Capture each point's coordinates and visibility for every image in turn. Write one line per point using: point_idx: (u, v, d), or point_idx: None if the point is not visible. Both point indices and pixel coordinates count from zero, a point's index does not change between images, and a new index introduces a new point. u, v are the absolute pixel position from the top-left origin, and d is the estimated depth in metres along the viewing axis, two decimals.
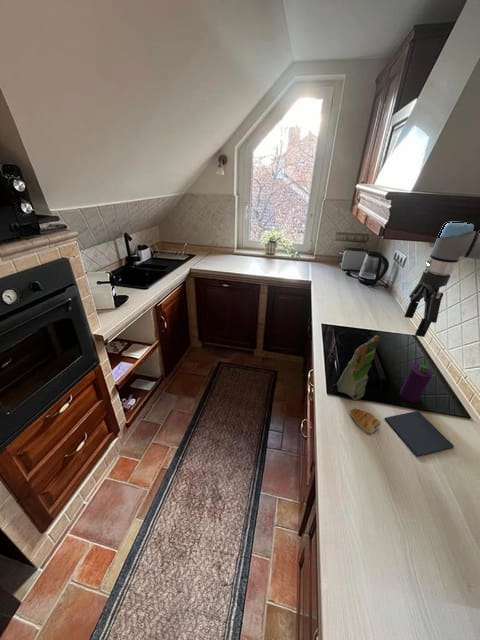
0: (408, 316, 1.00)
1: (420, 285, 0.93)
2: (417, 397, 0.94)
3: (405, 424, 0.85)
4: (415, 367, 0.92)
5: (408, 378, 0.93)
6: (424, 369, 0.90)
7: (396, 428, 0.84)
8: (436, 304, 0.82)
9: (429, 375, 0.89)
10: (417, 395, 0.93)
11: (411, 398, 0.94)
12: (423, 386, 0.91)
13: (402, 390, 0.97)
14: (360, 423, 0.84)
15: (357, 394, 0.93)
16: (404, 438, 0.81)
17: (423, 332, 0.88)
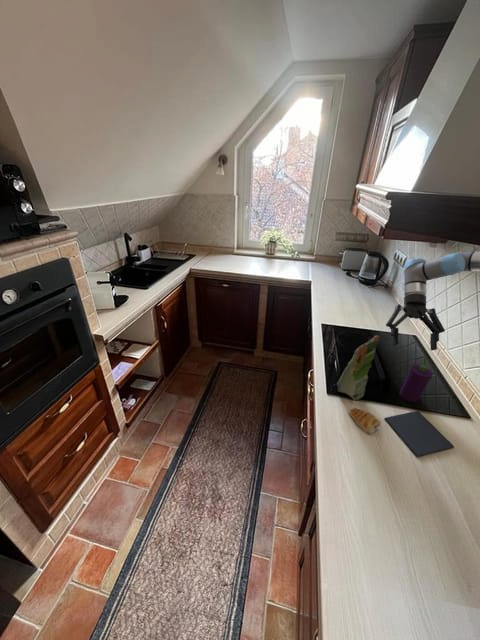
0: (432, 348, 0.98)
1: (429, 315, 1.01)
2: (417, 397, 0.94)
3: (405, 424, 0.85)
4: (415, 367, 0.92)
5: (408, 378, 0.93)
6: (424, 369, 0.90)
7: (396, 428, 0.84)
8: (394, 313, 1.02)
9: (429, 375, 0.89)
10: (417, 395, 0.93)
11: (411, 398, 0.94)
12: (423, 386, 0.91)
13: (402, 390, 0.97)
14: (360, 423, 0.84)
15: (357, 394, 0.93)
16: (404, 438, 0.81)
17: (395, 339, 0.99)
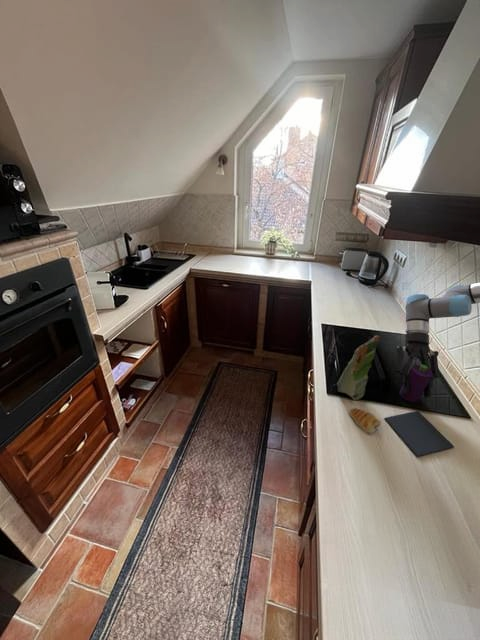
0: (426, 395, 0.92)
1: (430, 357, 0.96)
2: (417, 397, 0.94)
3: (405, 424, 0.85)
4: (415, 367, 0.92)
5: None
6: (424, 369, 0.90)
7: (396, 428, 0.84)
8: (398, 356, 0.96)
9: (429, 375, 0.89)
10: (417, 395, 0.93)
11: (411, 398, 0.94)
12: (423, 386, 0.91)
13: (402, 390, 0.97)
14: (360, 423, 0.84)
15: (357, 394, 0.93)
16: (404, 438, 0.81)
17: (405, 388, 0.93)
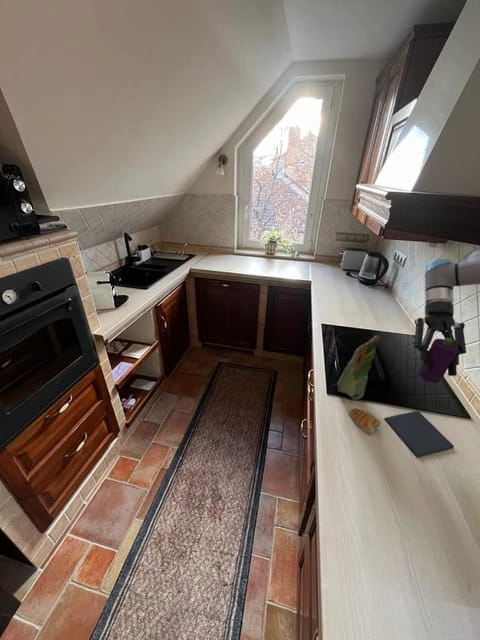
0: (450, 373, 0.79)
1: (455, 330, 0.82)
2: (440, 376, 0.80)
3: (405, 424, 0.85)
4: (438, 341, 0.79)
5: None
6: (449, 342, 0.76)
7: (396, 428, 0.84)
8: (417, 329, 0.83)
9: (455, 349, 0.76)
10: (440, 373, 0.79)
11: (433, 377, 0.81)
12: (448, 363, 0.77)
13: (421, 369, 0.83)
14: (360, 423, 0.84)
15: (357, 394, 0.93)
16: (404, 438, 0.81)
17: (426, 365, 0.80)
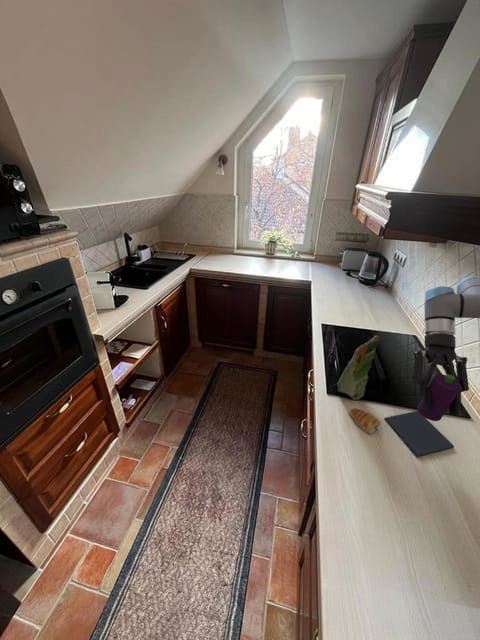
0: (452, 412, 0.73)
1: (457, 364, 0.77)
2: (441, 415, 0.75)
3: (405, 424, 0.85)
4: (439, 377, 0.74)
5: None
6: (451, 380, 0.71)
7: (396, 428, 0.84)
8: (417, 363, 0.77)
9: (457, 388, 0.70)
10: (441, 412, 0.74)
11: (433, 415, 0.75)
12: (450, 402, 0.72)
13: (421, 405, 0.78)
14: (360, 423, 0.84)
15: (357, 394, 0.93)
16: (404, 438, 0.81)
17: (426, 403, 0.74)
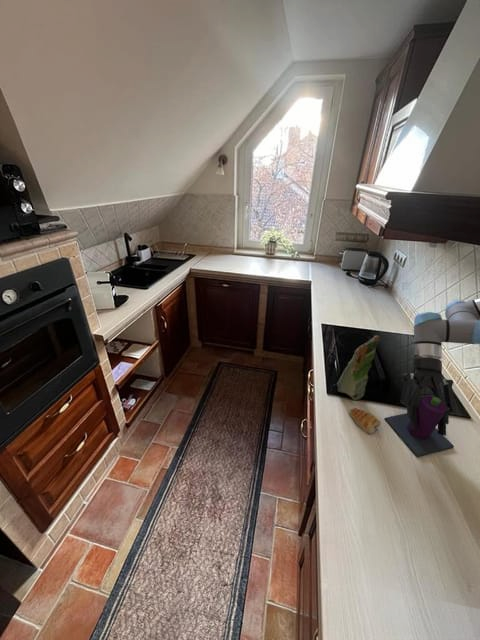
0: (440, 432, 0.78)
1: (444, 386, 0.82)
2: (428, 434, 0.79)
3: (405, 424, 0.85)
4: (426, 399, 0.78)
5: (417, 412, 0.79)
6: (437, 403, 0.75)
7: (396, 428, 0.84)
8: (405, 385, 0.82)
9: (443, 410, 0.75)
10: (428, 431, 0.79)
11: (421, 435, 0.80)
12: (436, 423, 0.77)
13: None
14: (360, 423, 0.84)
15: (357, 394, 0.93)
16: (404, 438, 0.81)
17: (412, 423, 0.79)
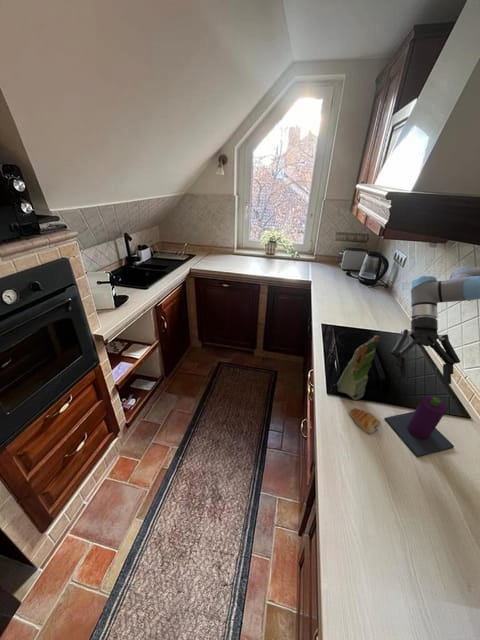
0: (445, 382, 0.83)
1: (441, 342, 0.87)
2: (428, 434, 0.79)
3: (405, 424, 0.85)
4: (426, 399, 0.78)
5: (417, 412, 0.79)
6: (437, 403, 0.75)
7: (396, 428, 0.84)
8: (400, 339, 0.88)
9: (443, 410, 0.75)
10: (428, 431, 0.79)
11: (421, 435, 0.80)
12: (436, 423, 0.77)
13: (410, 424, 0.83)
14: (360, 423, 0.84)
15: (357, 394, 0.93)
16: (404, 438, 0.81)
17: (401, 371, 0.85)
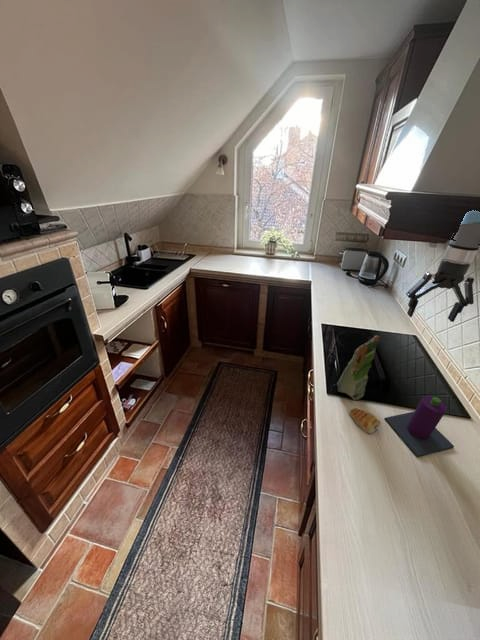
0: (449, 318, 0.91)
1: (465, 283, 0.85)
2: (428, 434, 0.79)
3: (405, 424, 0.85)
4: (426, 399, 0.78)
5: (417, 412, 0.79)
6: (437, 403, 0.75)
7: (396, 428, 0.84)
8: (420, 282, 0.87)
9: (443, 410, 0.75)
10: (428, 431, 0.79)
11: (421, 435, 0.80)
12: (436, 423, 0.77)
13: (410, 424, 0.83)
14: (360, 423, 0.84)
15: (357, 394, 0.93)
16: (404, 438, 0.81)
17: (410, 311, 0.92)
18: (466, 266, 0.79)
